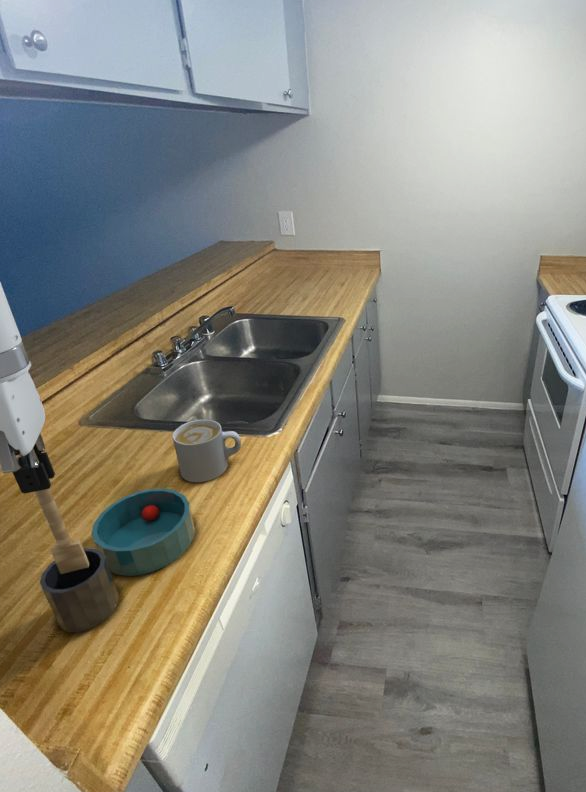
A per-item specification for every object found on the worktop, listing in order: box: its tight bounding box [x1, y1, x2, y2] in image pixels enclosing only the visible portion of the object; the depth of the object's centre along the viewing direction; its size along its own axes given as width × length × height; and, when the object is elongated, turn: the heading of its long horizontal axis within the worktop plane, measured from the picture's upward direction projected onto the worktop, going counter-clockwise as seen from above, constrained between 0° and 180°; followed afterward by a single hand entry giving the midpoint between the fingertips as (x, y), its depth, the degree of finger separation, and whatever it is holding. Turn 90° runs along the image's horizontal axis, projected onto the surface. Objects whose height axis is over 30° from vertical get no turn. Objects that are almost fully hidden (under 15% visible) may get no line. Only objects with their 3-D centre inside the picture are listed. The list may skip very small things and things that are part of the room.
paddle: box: [18, 449, 89, 574], centre depth 66 cm, size 4×2×22 cm, turn 113°
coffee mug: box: [172, 419, 242, 483], centre depth 105 cm, size 13×10×10 cm
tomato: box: [142, 505, 159, 521], centre depth 91 cm, size 3×3×3 cm
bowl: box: [91, 488, 196, 577], centre depth 87 cm, size 16×16×6 cm
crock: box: [39, 547, 120, 633], centre depth 73 cm, size 8×8×9 cm
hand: (39, 483), depth 64 cm, fingers closed on paddle, 1 cm apart
